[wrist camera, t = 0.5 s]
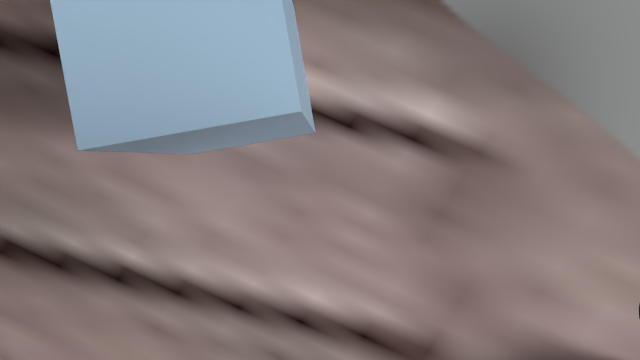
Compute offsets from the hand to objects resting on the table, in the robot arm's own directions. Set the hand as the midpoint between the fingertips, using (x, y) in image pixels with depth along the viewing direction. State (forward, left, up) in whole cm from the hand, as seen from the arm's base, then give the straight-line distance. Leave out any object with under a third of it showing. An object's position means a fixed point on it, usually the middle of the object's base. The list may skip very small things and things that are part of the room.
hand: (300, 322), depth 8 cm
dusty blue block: (+2, +5, -14) cm, 15 cm away
